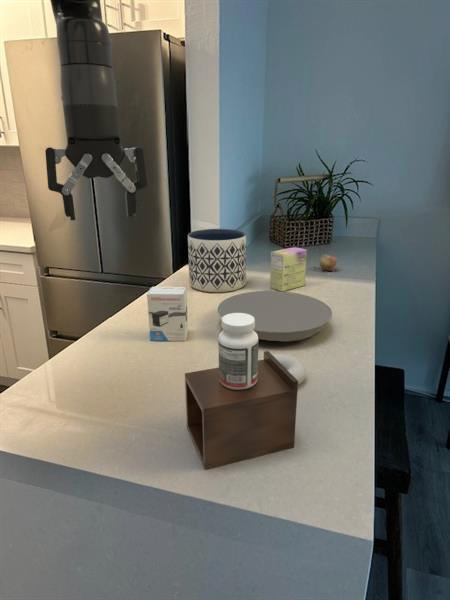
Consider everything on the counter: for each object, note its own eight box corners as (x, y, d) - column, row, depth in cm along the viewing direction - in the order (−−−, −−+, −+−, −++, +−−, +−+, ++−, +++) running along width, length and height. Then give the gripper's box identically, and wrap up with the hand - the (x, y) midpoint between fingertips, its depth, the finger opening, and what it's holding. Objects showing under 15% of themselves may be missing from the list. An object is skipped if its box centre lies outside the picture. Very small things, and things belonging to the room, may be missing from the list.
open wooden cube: (205, 469, 60) (203, 399, 56) (186, 428, 69) (184, 365, 65) (294, 447, 65) (298, 380, 61) (266, 410, 73) (268, 350, 70)
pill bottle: (241, 367, 67) (242, 308, 64) (265, 382, 63) (267, 320, 59) (211, 378, 64) (210, 317, 61) (234, 395, 60) (234, 330, 56)
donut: (244, 381, 83) (289, 397, 77) (243, 365, 82) (290, 380, 76) (271, 361, 90) (314, 375, 84) (271, 346, 89) (315, 359, 83)
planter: (241, 294, 130) (242, 241, 124) (183, 292, 132) (181, 239, 127) (248, 277, 146) (249, 229, 141) (196, 275, 149) (194, 228, 144)
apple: (317, 272, 151) (318, 256, 149) (320, 267, 159) (321, 251, 157) (334, 274, 150) (335, 257, 148) (337, 268, 157) (338, 252, 155)
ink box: (149, 341, 99) (146, 293, 95) (153, 332, 104) (150, 286, 100) (186, 341, 99) (184, 293, 95) (188, 332, 104) (187, 286, 100)
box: (292, 281, 142) (294, 246, 138) (305, 285, 138) (307, 249, 134) (269, 287, 136) (270, 251, 132) (282, 292, 132) (283, 254, 128)
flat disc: (235, 301, 124) (235, 286, 123) (335, 312, 116) (336, 296, 115) (201, 341, 99) (200, 323, 98) (324, 358, 91) (326, 339, 90)
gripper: (35, 100, 56) (52, 225, 61) (145, 103, 60) (152, 219, 66) (37, 104, 62) (53, 217, 68) (136, 107, 67) (144, 212, 72)
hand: (102, 218), depth 67 cm, fingers open, 8 cm apart
